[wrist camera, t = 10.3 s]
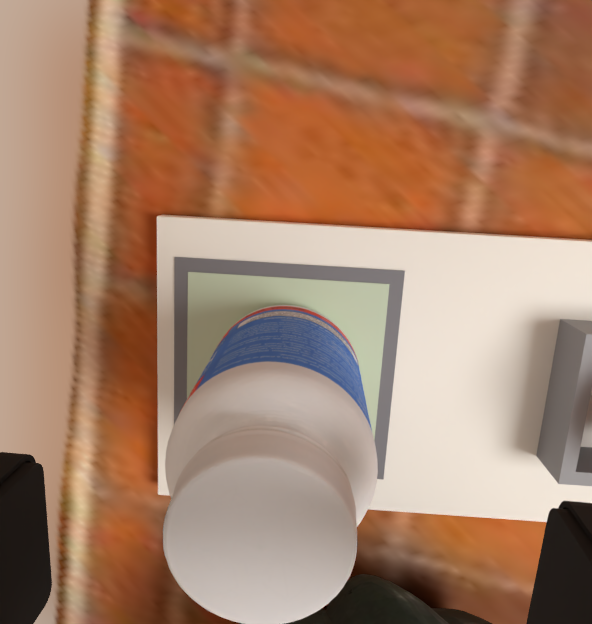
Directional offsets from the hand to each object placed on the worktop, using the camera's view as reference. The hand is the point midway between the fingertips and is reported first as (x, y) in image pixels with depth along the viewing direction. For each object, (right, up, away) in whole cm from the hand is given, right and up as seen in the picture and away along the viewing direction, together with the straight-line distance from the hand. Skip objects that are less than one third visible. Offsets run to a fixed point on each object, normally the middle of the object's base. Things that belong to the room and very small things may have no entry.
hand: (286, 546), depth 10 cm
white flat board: (+5, +2, +11) cm, 13 cm away
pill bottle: (0, +2, +11) cm, 11 cm away
